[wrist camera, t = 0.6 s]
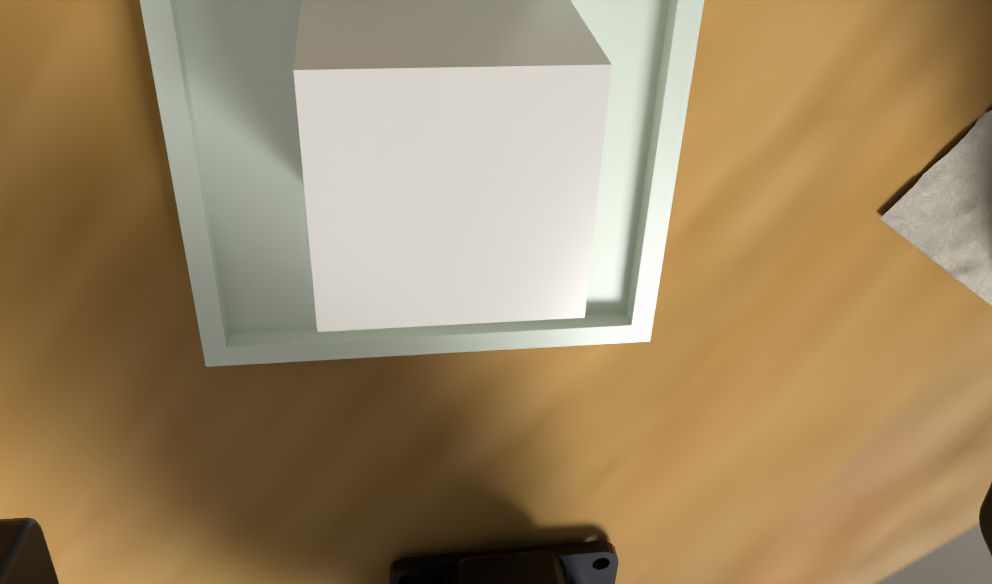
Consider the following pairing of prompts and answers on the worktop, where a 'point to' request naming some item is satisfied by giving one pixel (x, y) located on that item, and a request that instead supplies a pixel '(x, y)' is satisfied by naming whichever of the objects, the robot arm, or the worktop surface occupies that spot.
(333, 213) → the white matte cube
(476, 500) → the worktop surface
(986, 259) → the condiment
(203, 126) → the tray
